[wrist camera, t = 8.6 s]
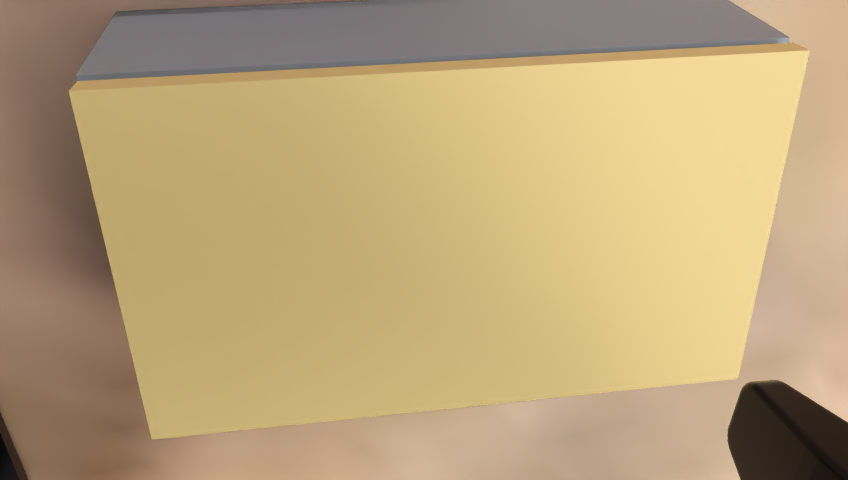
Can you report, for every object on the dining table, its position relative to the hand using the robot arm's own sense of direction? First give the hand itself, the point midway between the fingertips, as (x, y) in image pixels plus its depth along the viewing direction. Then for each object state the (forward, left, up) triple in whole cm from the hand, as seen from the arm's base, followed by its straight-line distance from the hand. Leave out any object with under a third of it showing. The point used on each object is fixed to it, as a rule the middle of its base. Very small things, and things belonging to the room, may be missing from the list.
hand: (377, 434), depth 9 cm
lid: (-2, -2, -7) cm, 8 cm away
